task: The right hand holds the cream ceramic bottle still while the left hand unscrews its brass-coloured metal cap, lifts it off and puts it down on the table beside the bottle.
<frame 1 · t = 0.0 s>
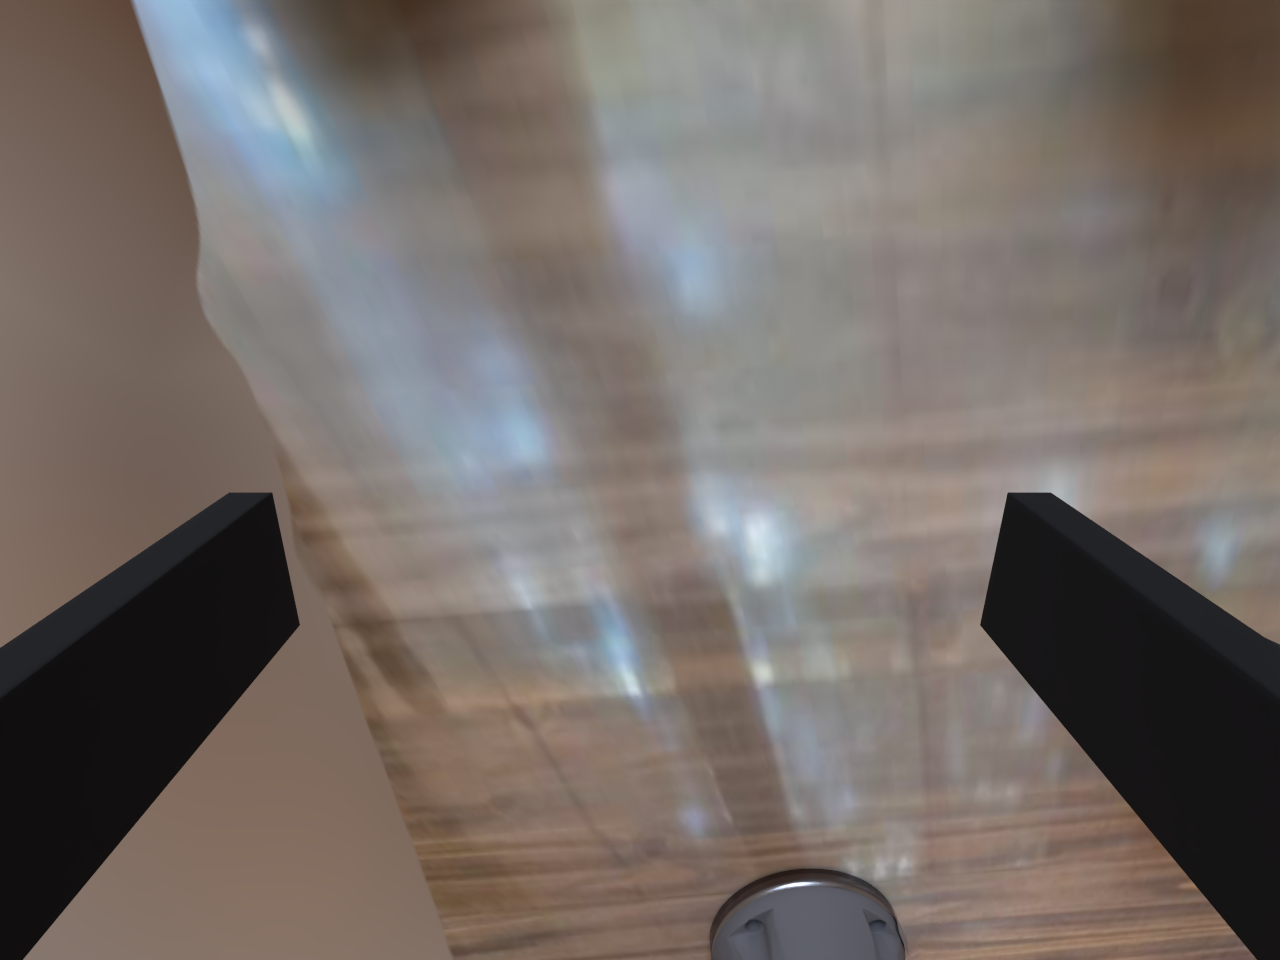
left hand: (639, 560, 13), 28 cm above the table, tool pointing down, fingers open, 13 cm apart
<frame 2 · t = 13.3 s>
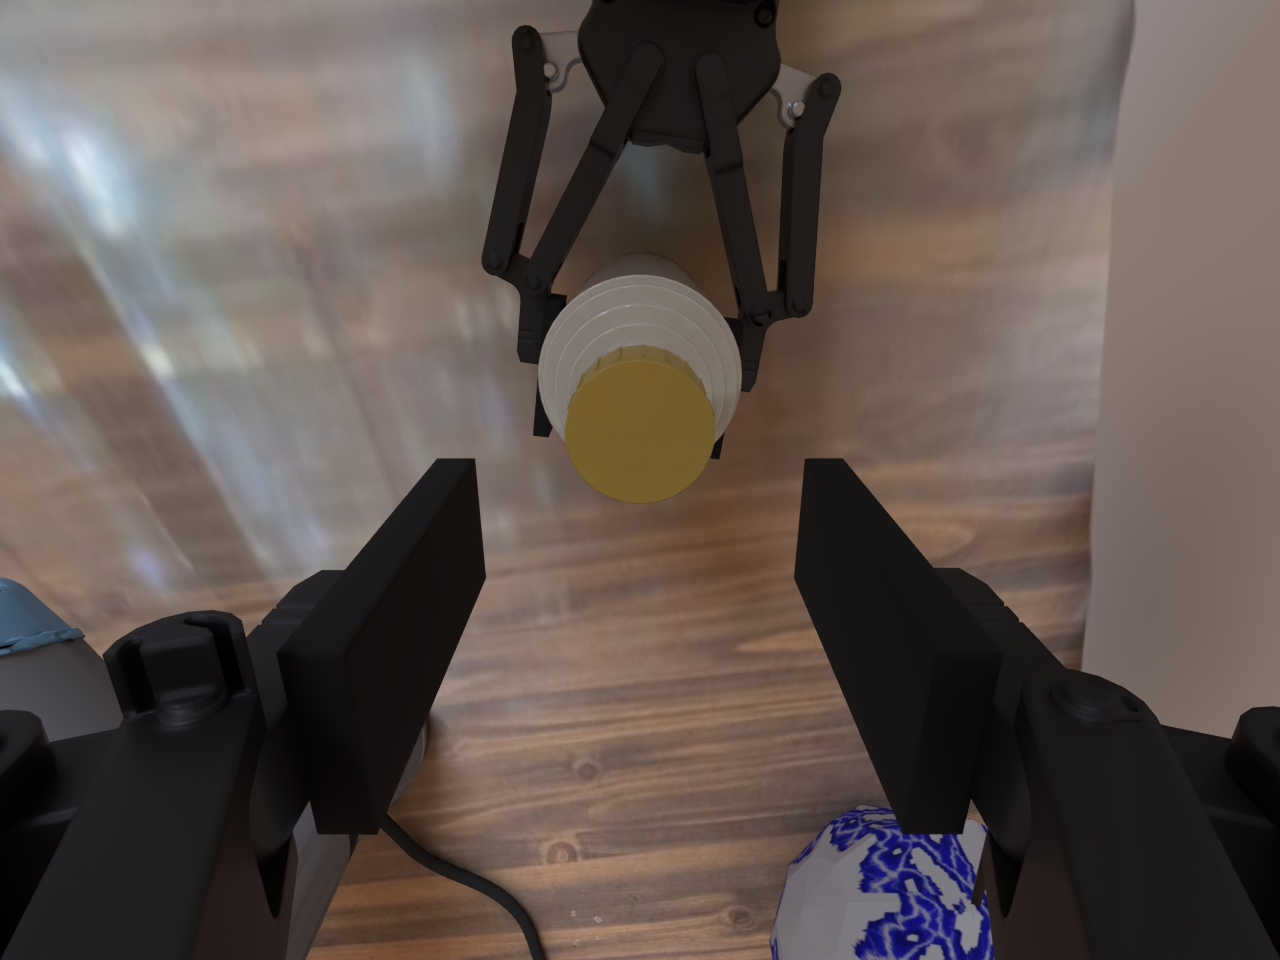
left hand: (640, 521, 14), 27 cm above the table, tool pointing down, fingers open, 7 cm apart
right hand: (627, 438, 35), fingers closed on bottle, 8 cm apart
cap: (640, 431, 20), point 21 cm above the table, screwed on, not yet turned
ornament: (878, 845, 54), on the table
bottle: (640, 324, 39), on the table, touching right hand
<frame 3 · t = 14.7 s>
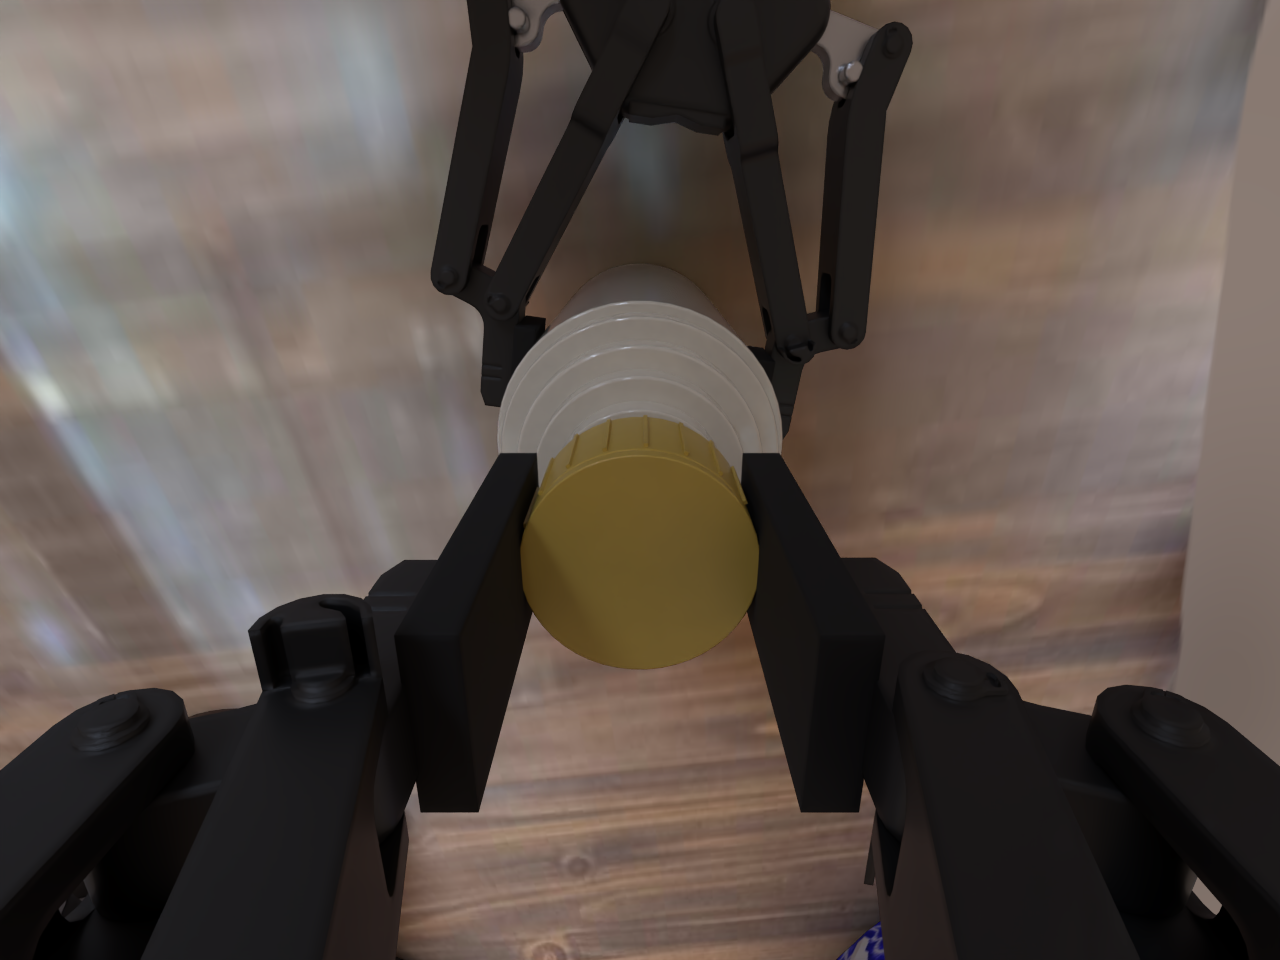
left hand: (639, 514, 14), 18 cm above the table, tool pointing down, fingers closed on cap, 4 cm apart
right hand: (623, 499, 28), fingers closed on bottle, 8 cm apart
cap: (639, 561, 12), point 21 cm above the table, screwed on, not yet turned, touching left hand
ornament: (916, 946, 46), on the table
bottle: (639, 350, 32), on the table, touching right hand
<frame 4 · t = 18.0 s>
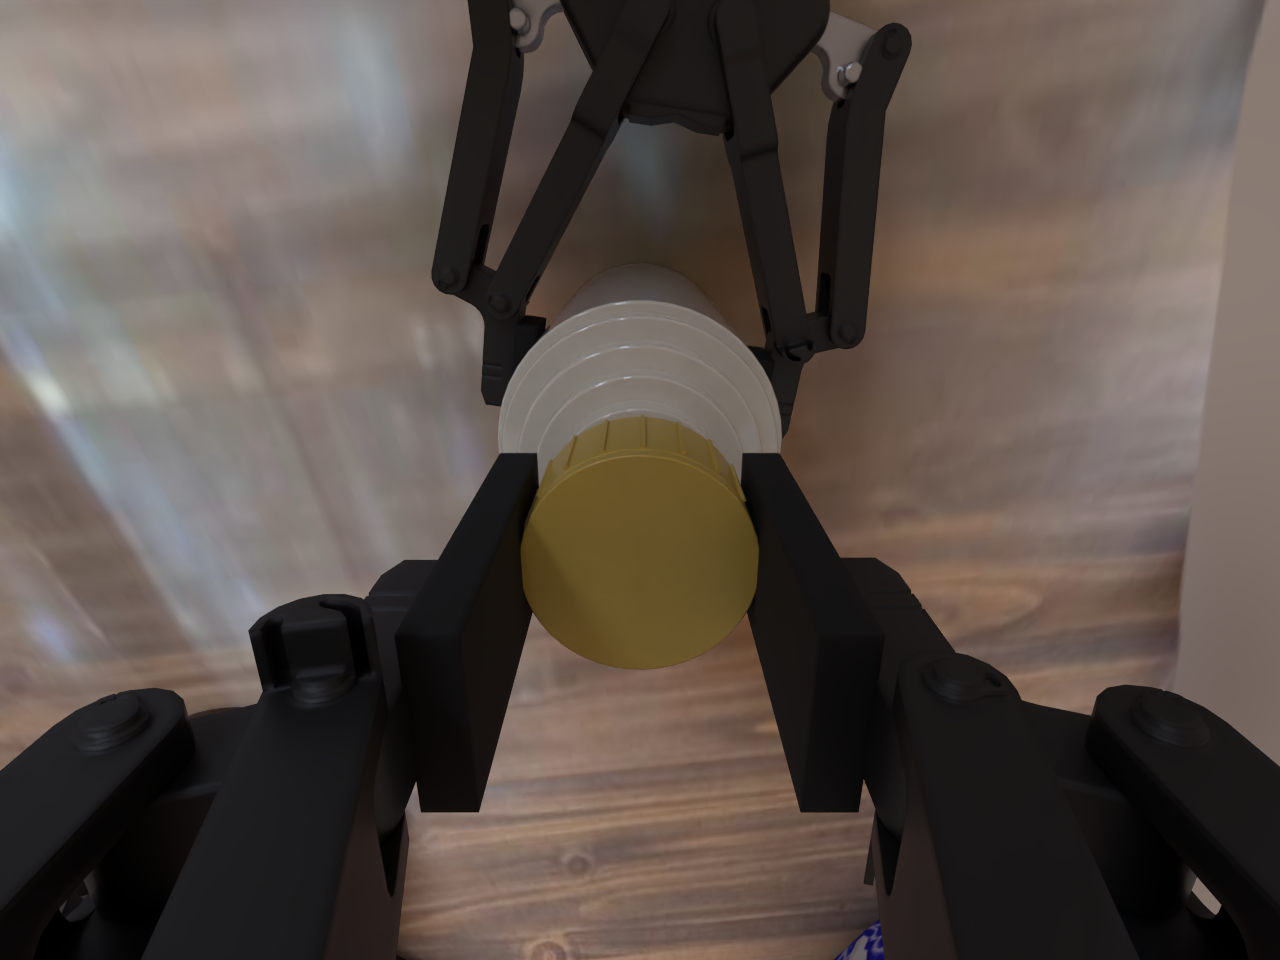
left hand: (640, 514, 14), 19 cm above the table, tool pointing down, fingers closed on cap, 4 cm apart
right hand: (623, 498, 28), fingers closed on bottle, 8 cm apart
cap: (639, 561, 12), point 21 cm above the table, turned 96° so far, risen 0.1 cm, still on its thread, touching left hand
ornament: (915, 945, 46), on the table
bottle: (639, 350, 32), on the table, touching right hand
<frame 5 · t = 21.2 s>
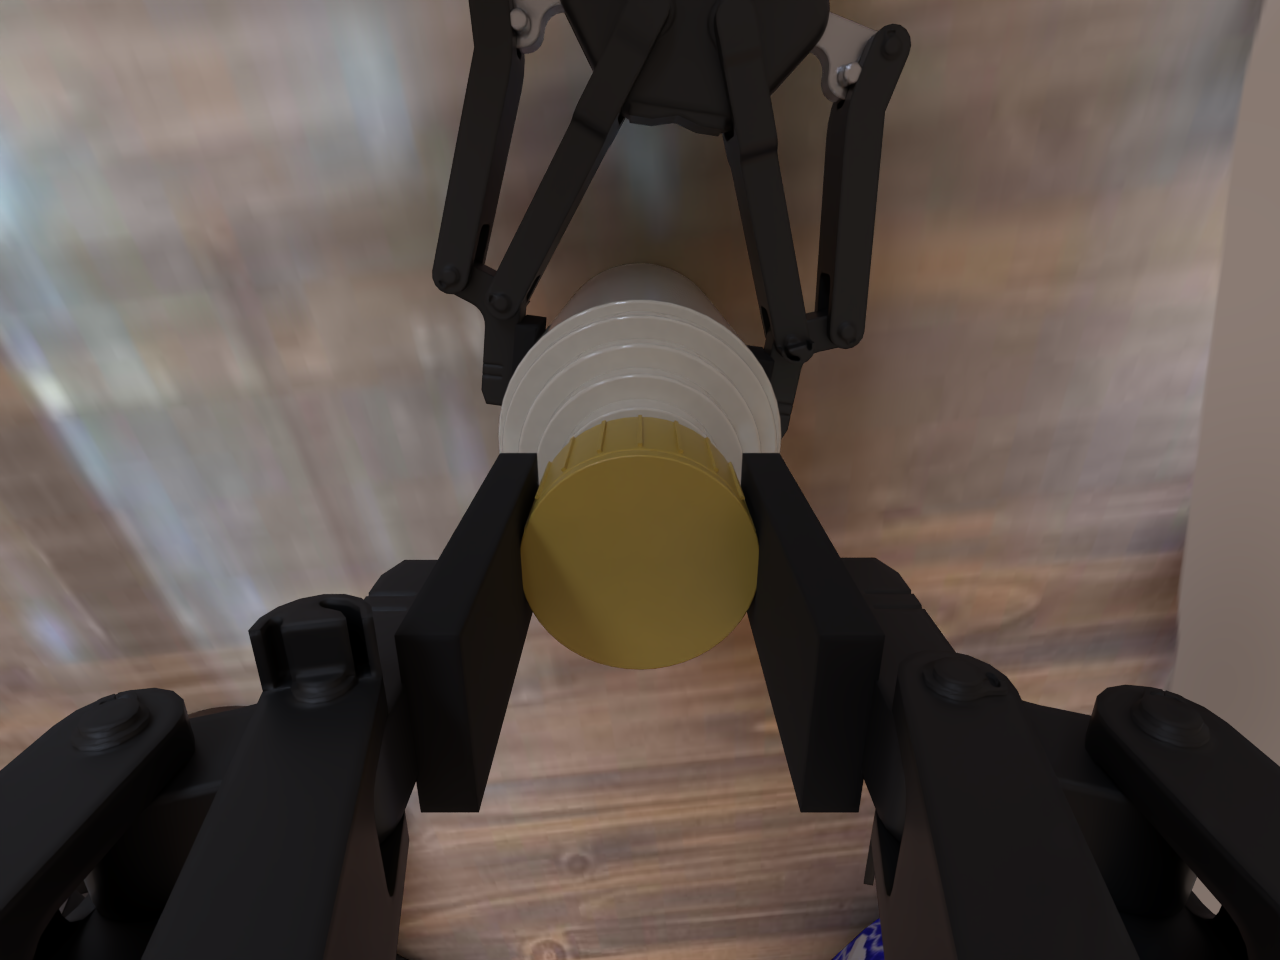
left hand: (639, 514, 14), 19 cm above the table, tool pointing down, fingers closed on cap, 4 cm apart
right hand: (623, 497, 28), fingers closed on bottle, 8 cm apart
cap: (639, 561, 12), point 21 cm above the table, turned 192° so far, risen 0.2 cm, still on its thread, touching left hand
ornament: (914, 944, 46), on the table
bottle: (639, 349, 32), on the table, touching right hand
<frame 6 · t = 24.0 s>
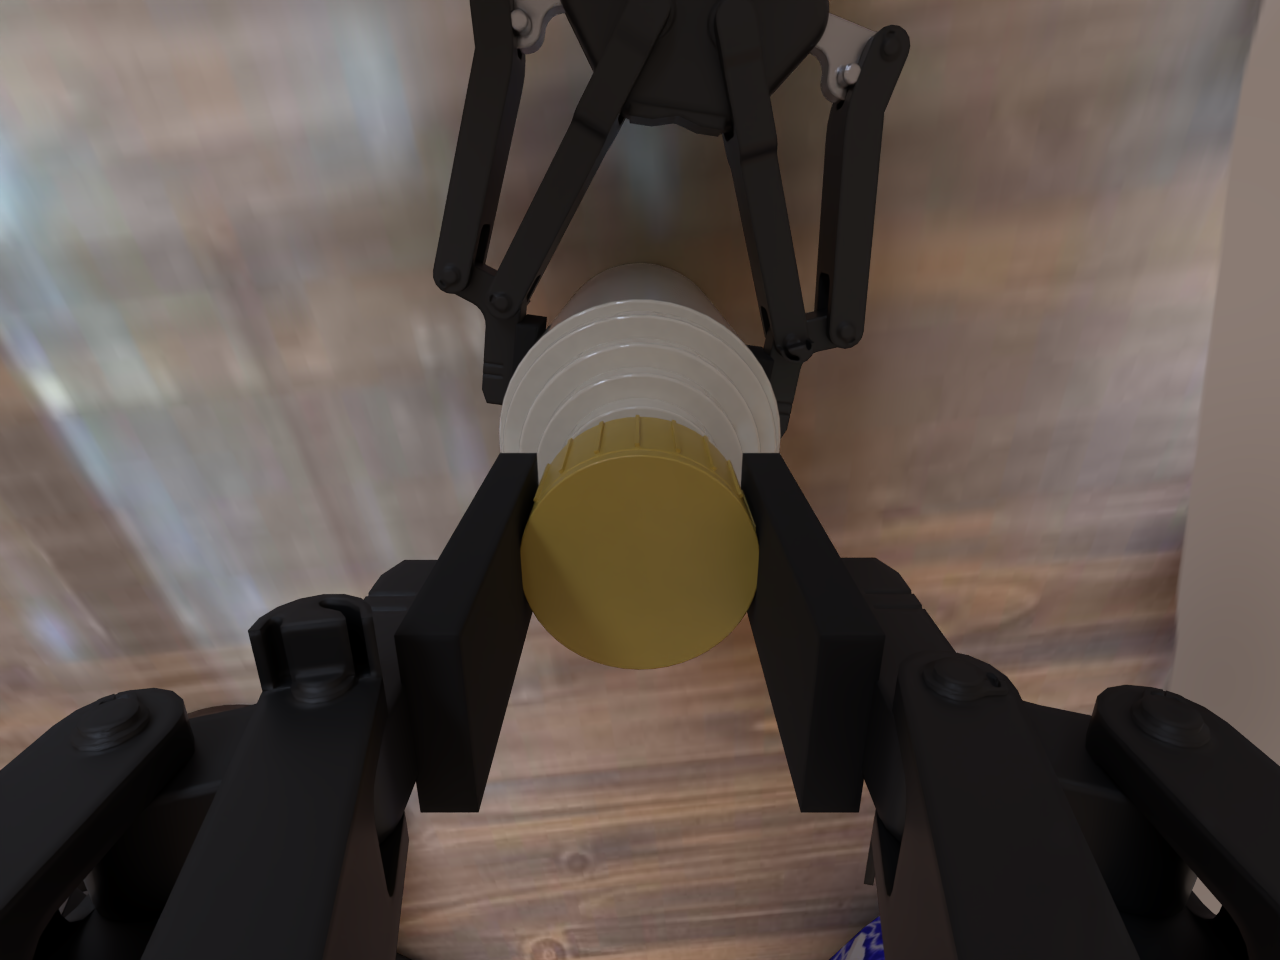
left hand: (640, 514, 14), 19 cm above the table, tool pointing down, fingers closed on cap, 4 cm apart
right hand: (623, 496, 28), fingers closed on bottle, 8 cm apart
cap: (639, 561, 12), point 21 cm above the table, turned 288° so far, risen 0.3 cm, still on its thread, touching left hand
ornament: (913, 943, 46), on the table
bottle: (639, 349, 32), on the table, touching right hand
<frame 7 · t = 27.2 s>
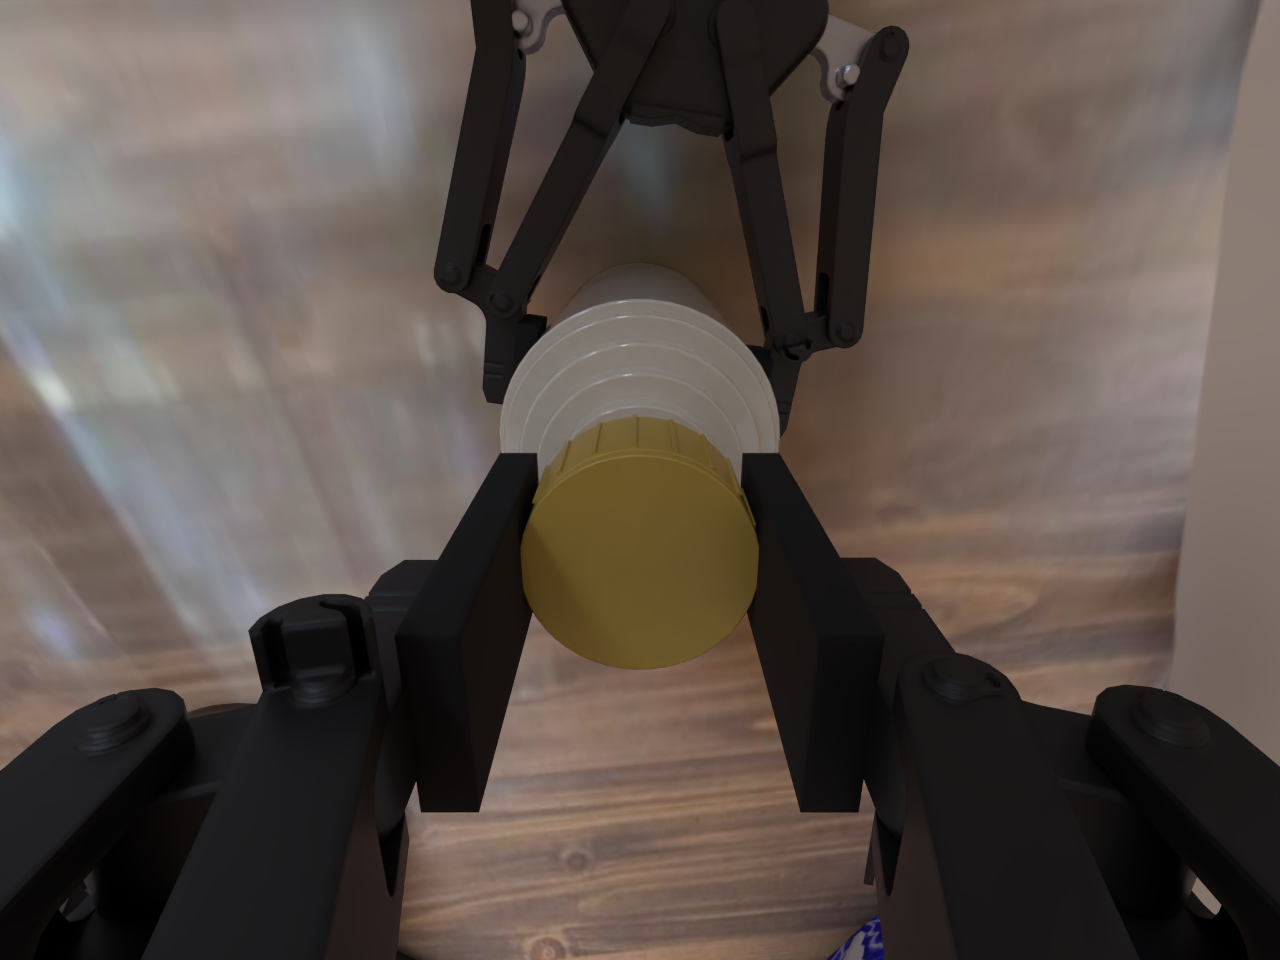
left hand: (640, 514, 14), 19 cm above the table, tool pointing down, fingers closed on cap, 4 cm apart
right hand: (623, 495, 28), fingers closed on bottle, 8 cm apart
cap: (639, 561, 12), point 21 cm above the table, turned 384° so far, risen 0.4 cm, still on its thread, touching left hand
ornament: (912, 942, 46), on the table
bottle: (639, 349, 32), on the table, touching right hand
when the left hand's fingers open (1 cm above the table, at t = 34.3 s): cap drops 1 cm, point 2 cm above the table.
when the right hand's fingers open (6 cm above the table, at t = 35.6 s): bottle stays where it is, on the table.
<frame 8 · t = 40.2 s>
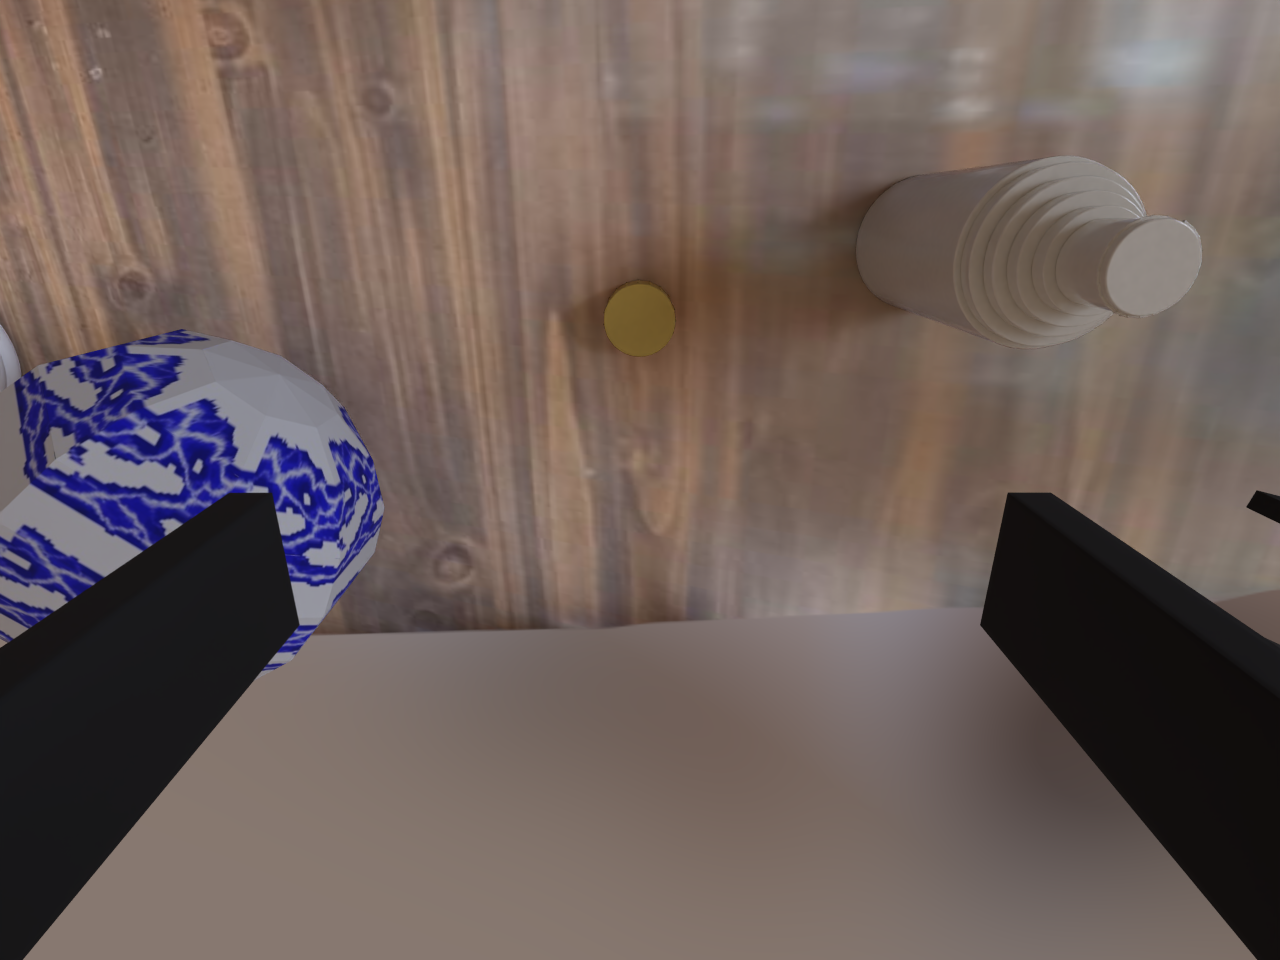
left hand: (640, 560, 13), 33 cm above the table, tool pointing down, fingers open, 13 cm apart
cap: (639, 320, 41), point 2 cm above the table, off its thread
ornament: (275, 457, 47), on the table
bottle: (919, 243, 42), on the table
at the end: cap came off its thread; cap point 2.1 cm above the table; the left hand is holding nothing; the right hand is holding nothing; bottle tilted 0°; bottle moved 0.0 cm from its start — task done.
